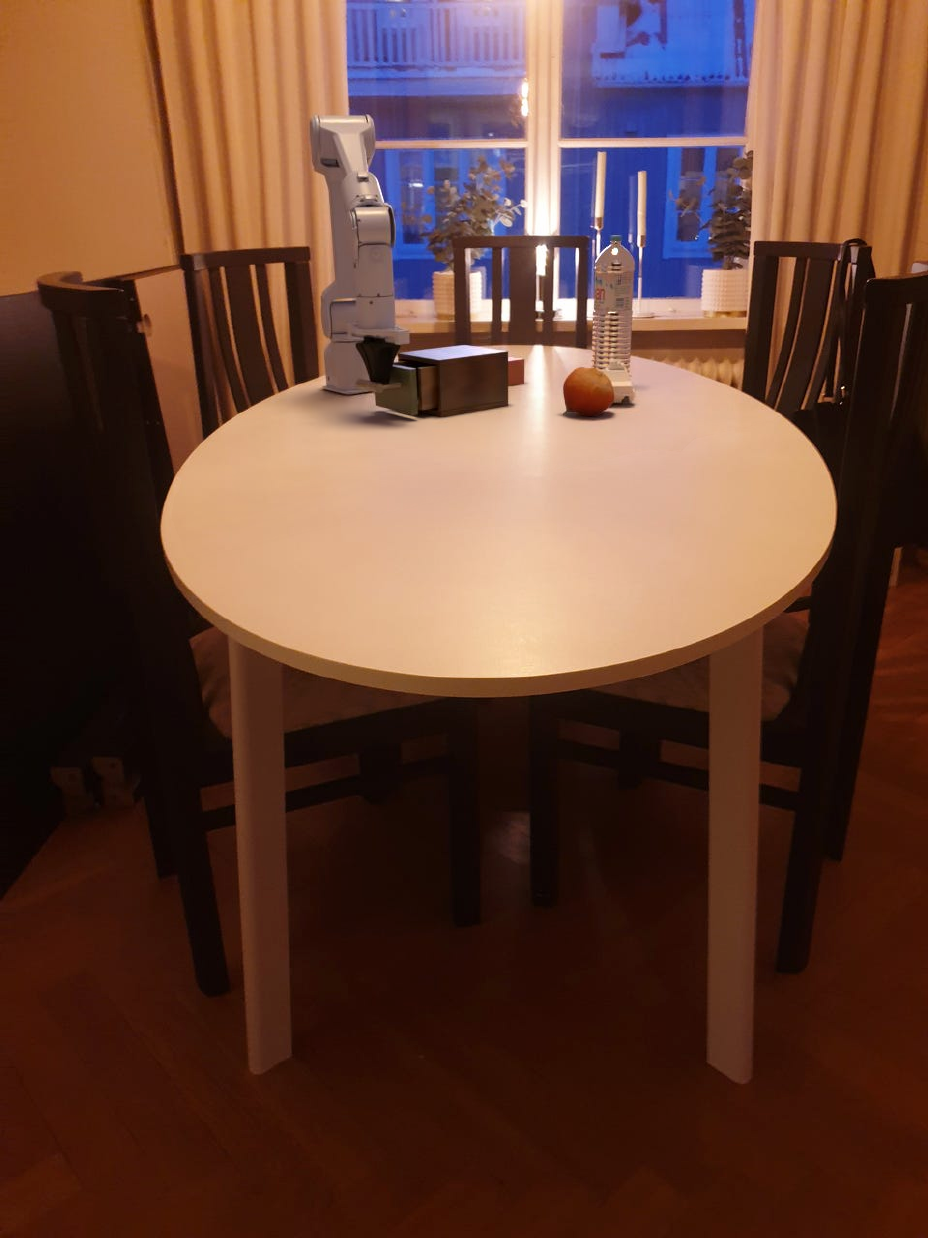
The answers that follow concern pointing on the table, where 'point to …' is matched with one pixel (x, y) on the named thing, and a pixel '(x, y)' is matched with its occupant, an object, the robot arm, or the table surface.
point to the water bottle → (613, 306)
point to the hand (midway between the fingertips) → (380, 389)
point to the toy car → (620, 381)
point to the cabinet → (466, 377)
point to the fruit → (587, 392)
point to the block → (515, 371)
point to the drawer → (406, 387)
